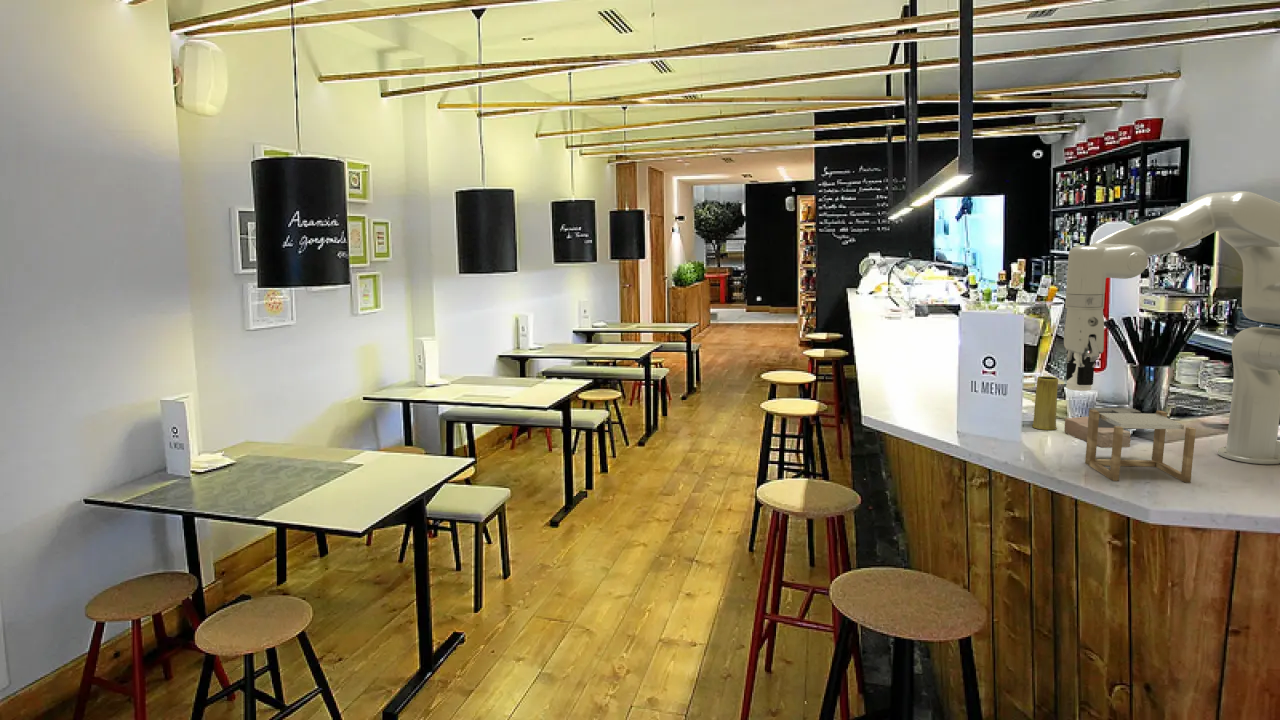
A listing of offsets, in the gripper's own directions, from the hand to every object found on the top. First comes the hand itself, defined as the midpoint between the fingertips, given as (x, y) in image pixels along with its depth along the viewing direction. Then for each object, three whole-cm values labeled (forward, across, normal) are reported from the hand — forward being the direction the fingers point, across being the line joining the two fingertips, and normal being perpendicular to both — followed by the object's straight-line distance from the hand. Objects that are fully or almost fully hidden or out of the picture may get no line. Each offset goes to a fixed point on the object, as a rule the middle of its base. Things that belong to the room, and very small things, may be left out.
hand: (1079, 381), depth 181 cm
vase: (+21, +43, -10) cm, 49 cm away
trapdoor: (+13, +5, -14) cm, 19 cm away
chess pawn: (+2, 0, 0) cm, 2 cm away
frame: (+21, 0, -14) cm, 25 cm away
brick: (+22, +31, -18) cm, 42 cm away
